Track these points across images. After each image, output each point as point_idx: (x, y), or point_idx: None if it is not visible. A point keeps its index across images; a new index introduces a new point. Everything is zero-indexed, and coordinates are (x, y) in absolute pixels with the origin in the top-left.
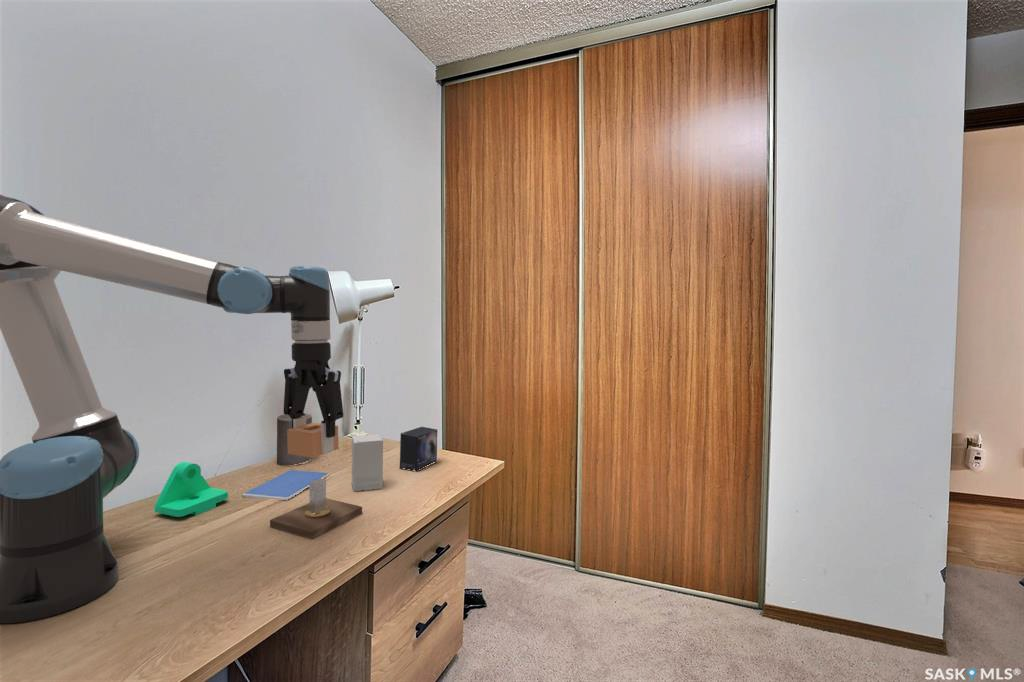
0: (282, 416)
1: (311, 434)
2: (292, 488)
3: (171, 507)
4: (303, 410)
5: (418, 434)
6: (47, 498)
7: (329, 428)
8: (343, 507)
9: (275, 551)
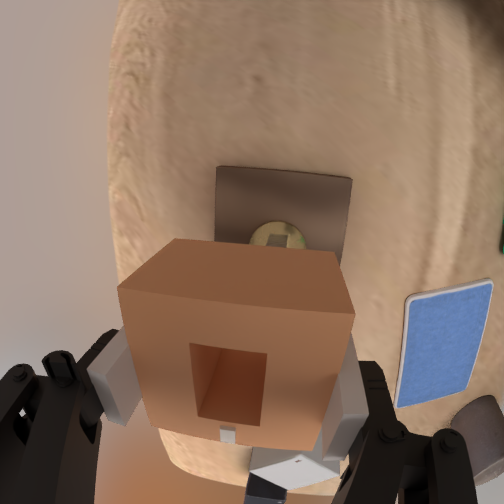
0: None
1: (128, 284)
2: (425, 338)
3: None
4: (337, 492)
5: (251, 500)
6: None
7: (88, 356)
8: None
9: (248, 98)
